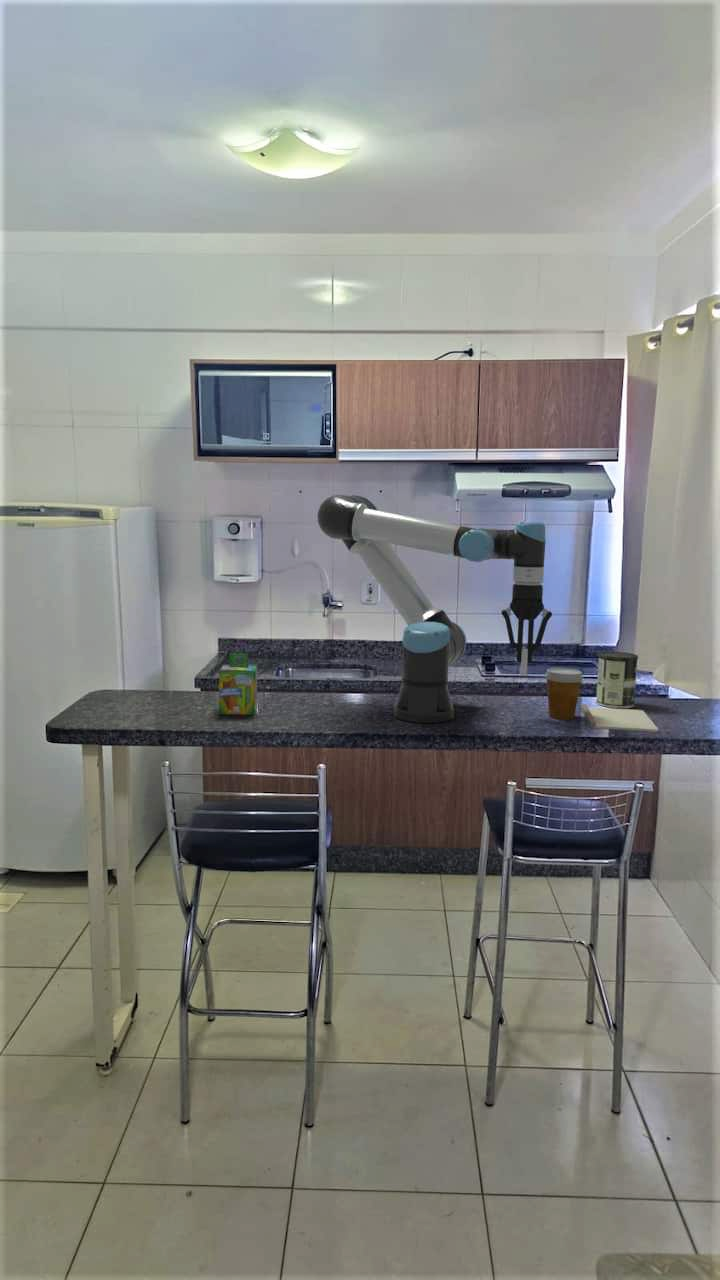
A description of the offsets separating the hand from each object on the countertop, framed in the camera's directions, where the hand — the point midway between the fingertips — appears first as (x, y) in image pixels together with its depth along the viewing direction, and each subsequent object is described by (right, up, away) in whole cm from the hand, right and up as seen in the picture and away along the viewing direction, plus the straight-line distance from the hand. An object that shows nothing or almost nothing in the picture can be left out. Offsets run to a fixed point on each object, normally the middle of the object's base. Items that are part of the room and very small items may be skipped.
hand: (523, 674), depth 206 cm
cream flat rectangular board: (+24, -11, -2) cm, 26 cm away
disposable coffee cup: (+10, -11, 0) cm, 15 cm away
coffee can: (+28, -9, +15) cm, 34 cm away
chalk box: (-73, -9, -1) cm, 74 cm away
